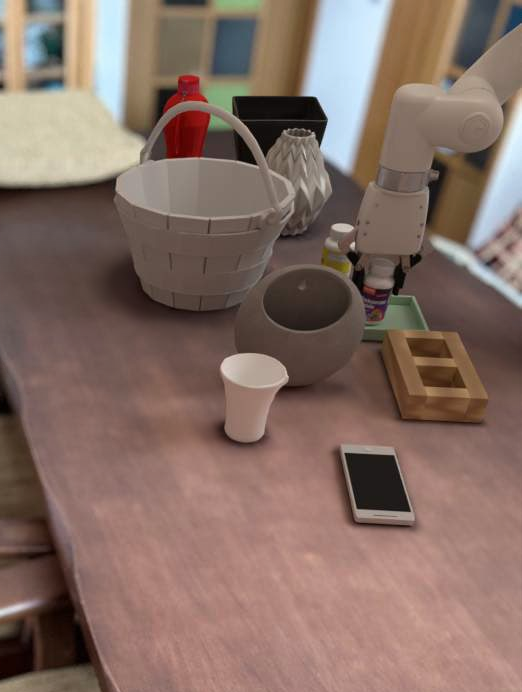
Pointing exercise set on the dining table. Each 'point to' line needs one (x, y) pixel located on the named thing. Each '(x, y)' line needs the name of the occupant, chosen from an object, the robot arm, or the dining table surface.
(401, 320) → the tray
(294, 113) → the flower pot
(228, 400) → the cup
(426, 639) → the dining table surface
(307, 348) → the planter
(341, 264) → the supplement bottle
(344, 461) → the smartphone
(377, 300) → the pill bottle
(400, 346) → the frame
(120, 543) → the dining table surface
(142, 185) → the basket
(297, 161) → the vase
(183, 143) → the water bottle
